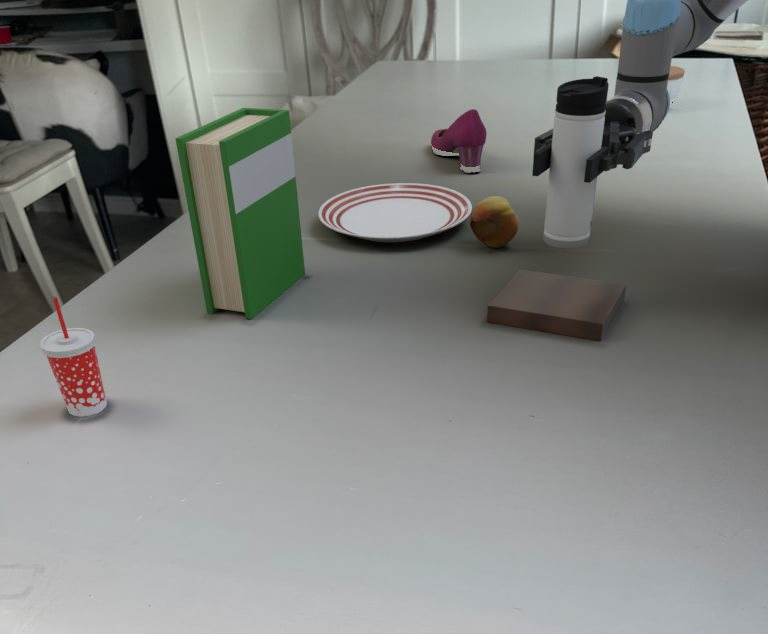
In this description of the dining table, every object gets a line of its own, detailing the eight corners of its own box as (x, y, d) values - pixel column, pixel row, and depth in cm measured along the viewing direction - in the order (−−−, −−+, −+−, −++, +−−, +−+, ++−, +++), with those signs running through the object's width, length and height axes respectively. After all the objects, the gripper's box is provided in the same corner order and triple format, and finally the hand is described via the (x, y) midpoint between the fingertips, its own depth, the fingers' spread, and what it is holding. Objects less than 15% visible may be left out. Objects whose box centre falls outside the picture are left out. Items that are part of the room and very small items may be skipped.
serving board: (623, 300, 117) (626, 284, 116) (600, 341, 107) (603, 323, 106) (518, 284, 123) (519, 268, 121) (486, 322, 113) (487, 305, 111)
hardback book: (251, 319, 116) (225, 141, 101) (207, 313, 119) (175, 138, 104) (305, 274, 129) (288, 110, 114) (264, 268, 131) (243, 107, 116)
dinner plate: (446, 259, 132) (446, 239, 130) (294, 244, 140) (292, 224, 138) (488, 206, 152) (489, 188, 150) (353, 195, 160) (352, 178, 158)
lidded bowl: (620, 105, 212) (626, 58, 205) (666, 102, 213) (674, 55, 206) (637, 116, 202) (644, 67, 195) (685, 113, 203) (694, 64, 196)
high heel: (454, 143, 188) (455, 84, 181) (500, 171, 169) (504, 107, 161) (419, 147, 186) (419, 88, 179) (462, 177, 167) (464, 112, 159)
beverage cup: (114, 414, 97) (83, 304, 88) (60, 423, 95) (24, 313, 87) (112, 390, 101) (83, 283, 93) (62, 399, 100) (27, 291, 91)
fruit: (512, 256, 132) (516, 206, 127) (463, 252, 134) (464, 202, 129) (521, 240, 137) (525, 192, 133) (474, 236, 140) (476, 188, 135)
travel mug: (600, 242, 111) (622, 80, 99) (565, 253, 108) (583, 88, 96) (568, 229, 115) (585, 73, 103) (533, 240, 112) (547, 80, 100)
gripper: (679, 160, 115) (632, 208, 100) (552, 146, 123) (490, 189, 108) (690, 102, 111) (642, 144, 95) (557, 92, 119) (493, 129, 103)
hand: (561, 168), depth 102 cm, fingers closed on travel mug, 6 cm apart
